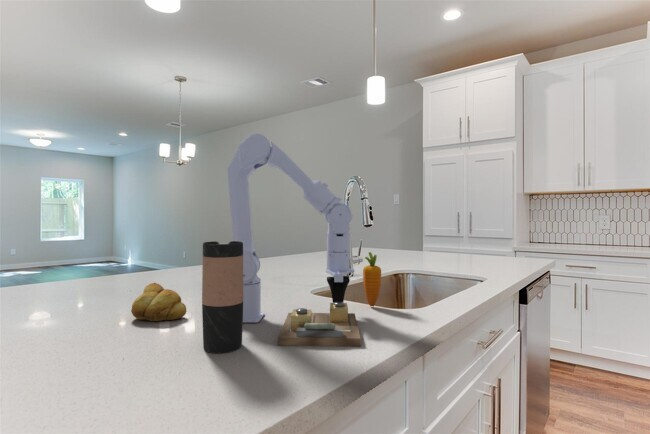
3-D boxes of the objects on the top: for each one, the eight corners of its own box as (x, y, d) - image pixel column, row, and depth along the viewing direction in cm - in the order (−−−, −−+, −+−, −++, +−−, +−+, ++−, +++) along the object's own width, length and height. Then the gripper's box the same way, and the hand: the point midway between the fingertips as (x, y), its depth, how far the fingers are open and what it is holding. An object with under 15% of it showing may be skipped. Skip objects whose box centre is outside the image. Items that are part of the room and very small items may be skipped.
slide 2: (329, 321, 83) (329, 305, 83) (329, 315, 88) (329, 300, 88) (347, 321, 83) (347, 305, 83) (346, 315, 88) (346, 300, 88)
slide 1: (290, 330, 77) (290, 312, 76) (293, 323, 82) (293, 306, 81) (310, 330, 76) (310, 312, 76) (311, 323, 81) (311, 306, 81)
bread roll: (194, 315, 93) (194, 283, 93) (166, 327, 84) (166, 291, 83) (153, 311, 97) (153, 280, 97) (122, 321, 88) (122, 287, 88)
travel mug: (221, 357, 66) (221, 244, 66) (193, 348, 70) (193, 242, 70) (251, 344, 73) (251, 242, 72) (224, 337, 77) (224, 240, 76)
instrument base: (278, 345, 72) (278, 325, 72) (288, 318, 90) (288, 302, 90) (360, 346, 72) (360, 326, 72) (354, 319, 90) (354, 303, 90)
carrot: (380, 310, 99) (381, 253, 99) (361, 309, 100) (362, 253, 100) (381, 305, 104) (381, 251, 104) (363, 304, 105) (364, 251, 105)
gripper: (356, 254, 85) (356, 314, 85) (352, 248, 100) (352, 299, 100) (325, 254, 85) (325, 313, 85) (326, 248, 100) (326, 299, 100)
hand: (337, 306), depth 93 cm, fingers closed
